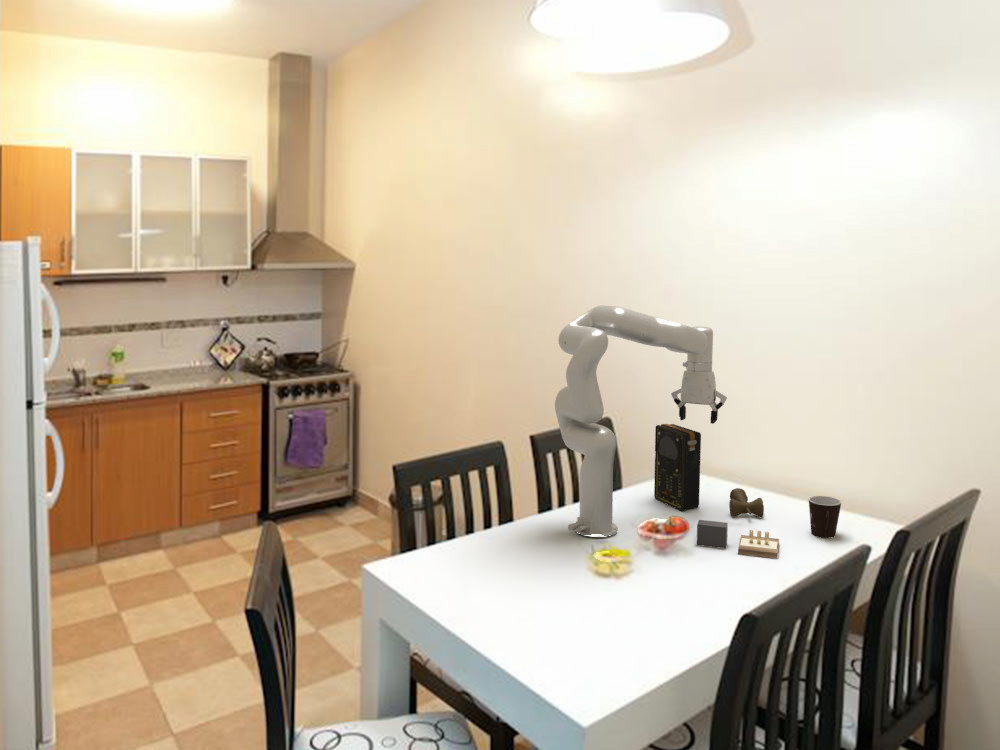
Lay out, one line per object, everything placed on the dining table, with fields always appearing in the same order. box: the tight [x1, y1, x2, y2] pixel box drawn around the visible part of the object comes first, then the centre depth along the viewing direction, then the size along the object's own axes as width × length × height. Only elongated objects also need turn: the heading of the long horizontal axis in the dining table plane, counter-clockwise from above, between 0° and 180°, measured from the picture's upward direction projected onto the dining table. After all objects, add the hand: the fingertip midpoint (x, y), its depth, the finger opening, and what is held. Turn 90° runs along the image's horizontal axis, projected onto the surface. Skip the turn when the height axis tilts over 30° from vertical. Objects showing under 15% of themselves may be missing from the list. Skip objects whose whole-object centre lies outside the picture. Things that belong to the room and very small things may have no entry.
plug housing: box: [696, 519, 729, 549], centre depth 220 cm, size 4×8×6 cm, turn 69°
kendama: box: [728, 487, 765, 519], centre depth 246 cm, size 6×10×20 cm
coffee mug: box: [808, 495, 842, 539], centre depth 225 cm, size 12×9×10 cm
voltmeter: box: [653, 423, 702, 512], centre depth 253 cm, size 16×9×25 cm, turn 25°
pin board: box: [737, 529, 780, 559], centre depth 216 cm, size 11×10×5 cm
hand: (697, 421), depth 248 cm, fingers open, 9 cm apart
